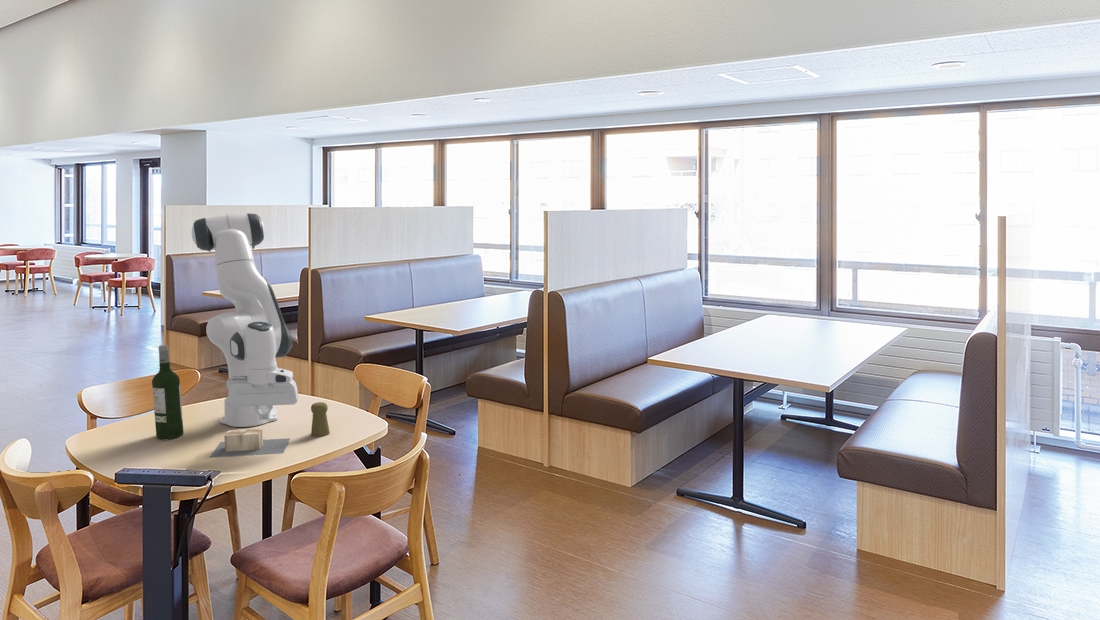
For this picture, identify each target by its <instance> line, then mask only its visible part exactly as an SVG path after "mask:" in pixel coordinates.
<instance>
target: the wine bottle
mask: <svg viewBox="0 0 1100 620" xmlns="http://www.w3.org/2000/svg"><path fill="white" fill-rule="evenodd" d="M158 360H159V371H158V372H157V373H156V374H155V375H154V376H153V378H152V380H151V388H152V398H153V409H154V410H153V411H154V423H155V424H154V425H155V436H156V438H157V439H158V440H162V439H168V440H173V439H174V438H175V439H177V438H180V436H181V437H182V436H183V435H184V424H183V423H184V419H183V408H182V407H183V406H182V396H181V395H182V394H181V393H182V392H181V380H180V377H179V376H178V374H177V373H176V372H174V371H173V370H172V368H171V364H170V355H169V346H168V345H167V344H160V345H158Z"/></svg>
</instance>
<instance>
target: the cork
mask: <svg viewBox="0 0 1100 620" xmlns="http://www.w3.org/2000/svg"><path fill="white" fill-rule="evenodd" d="M310 411H311V413H312V420H311V432H310V435H311V436H312V437H314V438H319V437H326V436H329V435H330V433H331V431H330V427H329V426H330V425H329V422H328V416H327V412H328V404H327V403H326V402H321V401H319V402H314V403H313V404H312V405H311V407H310Z"/></svg>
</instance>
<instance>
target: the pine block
mask: <svg viewBox="0 0 1100 620" xmlns="http://www.w3.org/2000/svg"><path fill="white" fill-rule="evenodd" d="M263 437H264V436H263V428H256V429H255V428H254V429H253V428H252V429H237V430H235V429H233V430H227V432H226V433H225V434H224V437H223V438H224V442H225V452H227V451H244V450H260V449H261V447H262V445H263V440H264V439H263Z"/></svg>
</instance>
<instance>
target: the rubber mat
mask: <svg viewBox="0 0 1100 620" xmlns="http://www.w3.org/2000/svg"><path fill="white" fill-rule="evenodd" d="M290 440H291V438H289V437H288V438H272V439H263V445H262V447H261V449H260V450H244V451H227V452H225V441H220V442H219V444H218V445H217V447H215V449H214V450H213V451H212V453H211V455H210V456H209V458H225V457H238V456H239V457H243V456H259V455H260V456H261V455H277V454H278V455H279V454H284V452H285V450H286V449H287V448H288V447H287V446H288V444H289V442H290Z"/></svg>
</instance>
